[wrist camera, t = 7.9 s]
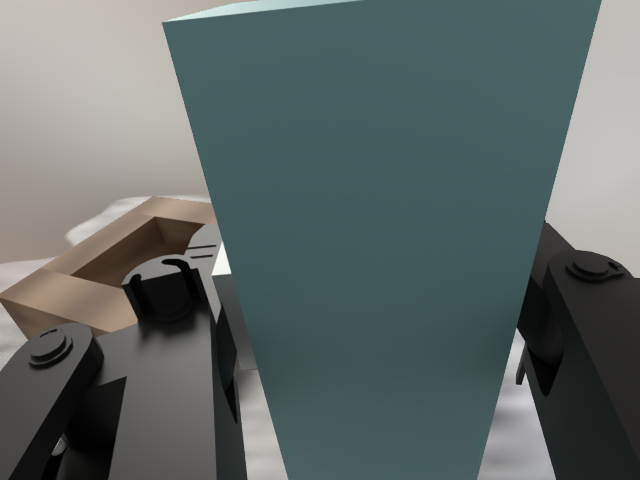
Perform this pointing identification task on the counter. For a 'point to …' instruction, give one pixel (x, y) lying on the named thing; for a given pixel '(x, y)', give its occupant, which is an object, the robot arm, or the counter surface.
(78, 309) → the block
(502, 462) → the counter surface
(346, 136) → the teal peg
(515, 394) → the counter surface
